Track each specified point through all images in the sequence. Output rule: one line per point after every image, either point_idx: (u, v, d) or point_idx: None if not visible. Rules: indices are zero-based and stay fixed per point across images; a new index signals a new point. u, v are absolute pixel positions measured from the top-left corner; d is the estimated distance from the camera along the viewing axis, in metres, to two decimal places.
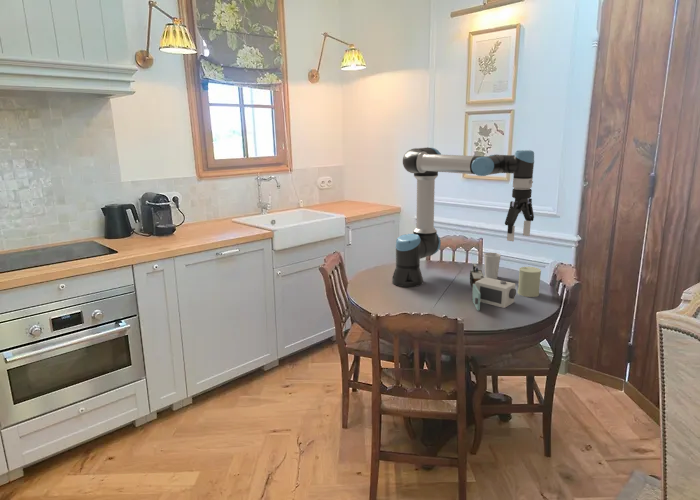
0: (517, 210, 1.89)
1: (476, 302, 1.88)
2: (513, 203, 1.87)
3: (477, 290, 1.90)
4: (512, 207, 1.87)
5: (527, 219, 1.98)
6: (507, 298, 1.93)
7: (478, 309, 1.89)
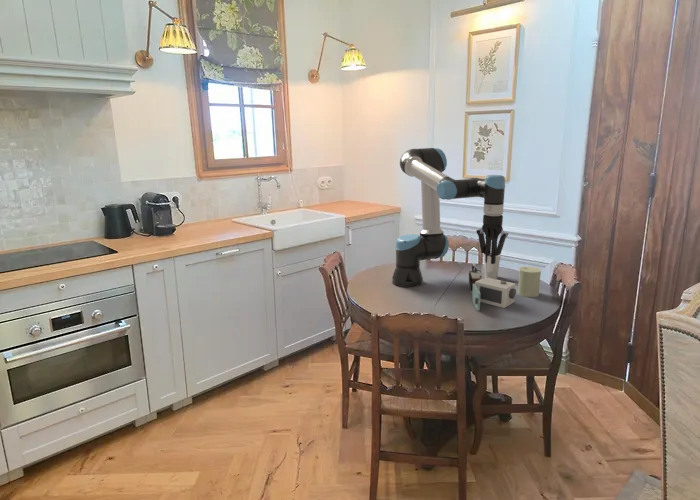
0: None
1: (476, 302, 1.88)
2: None
3: (477, 290, 1.90)
4: None
5: None
6: (507, 298, 1.93)
7: (478, 309, 1.89)
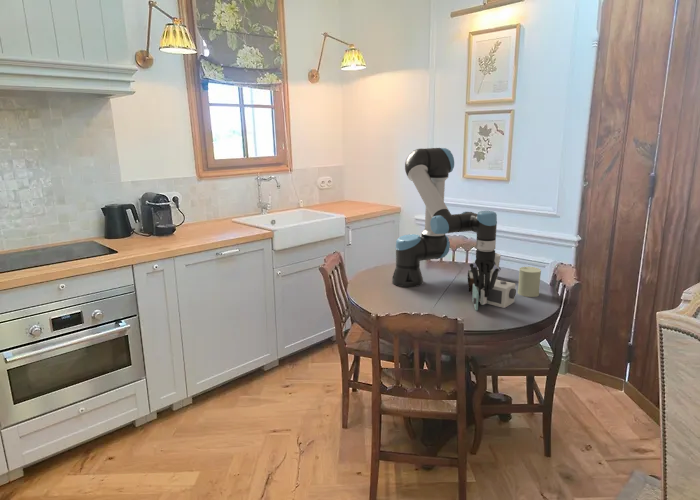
0: None
1: (474, 302, 1.88)
2: None
3: (476, 290, 1.90)
4: None
5: None
6: (507, 298, 1.93)
7: (476, 309, 1.89)
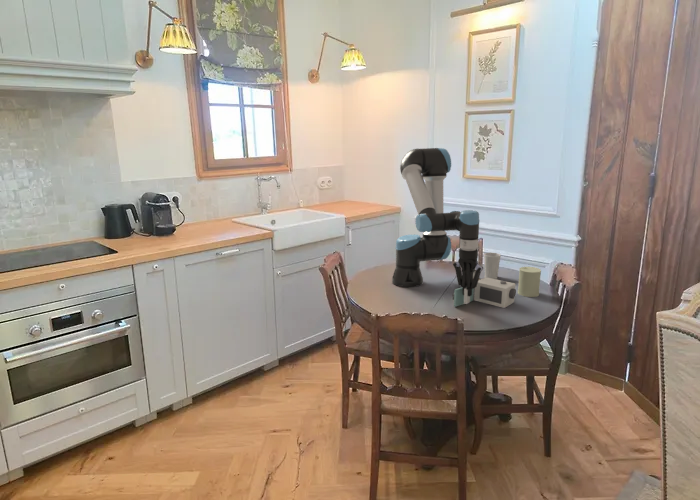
0: None
1: (453, 298, 1.94)
2: None
3: None
4: None
5: None
6: (507, 298, 1.93)
7: (454, 305, 1.93)
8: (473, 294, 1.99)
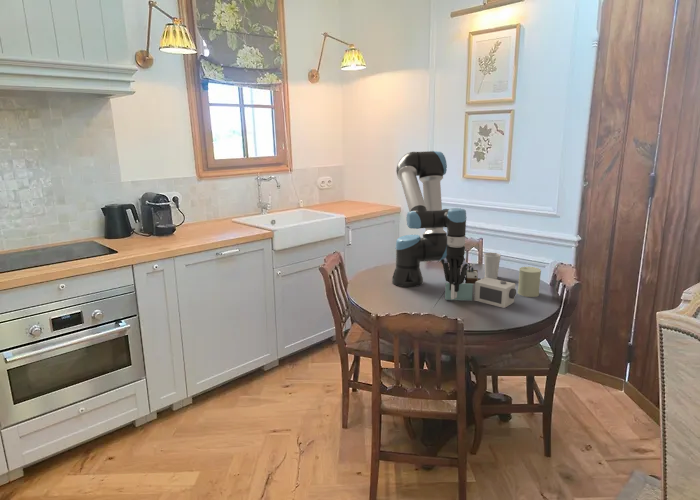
0: None
1: None
2: None
3: None
4: None
5: None
6: (507, 298, 1.93)
7: (445, 298, 2.02)
8: (472, 294, 1.99)
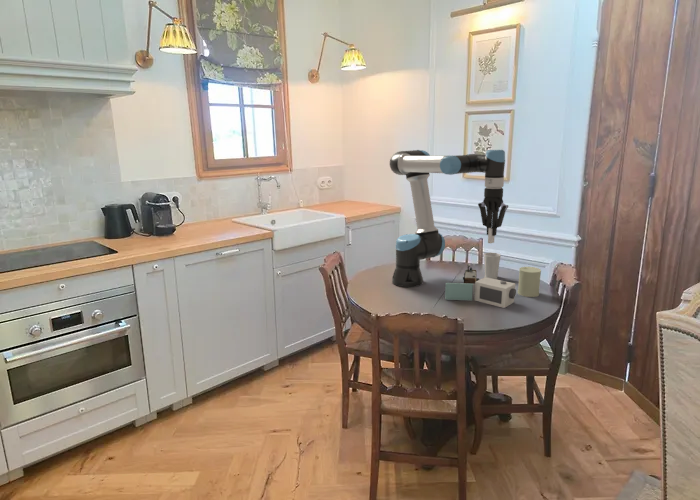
0: None
1: None
2: None
3: (454, 283, 2.00)
4: None
5: None
6: (507, 298, 1.93)
7: (445, 298, 2.02)
8: (472, 294, 1.99)
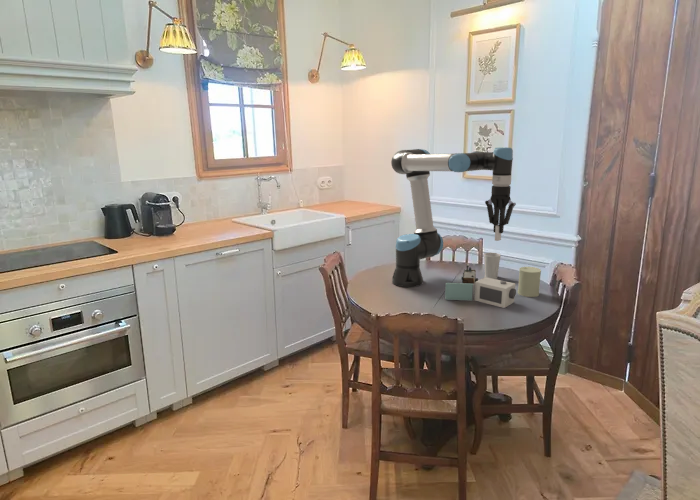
0: None
1: None
2: None
3: (454, 283, 2.00)
4: None
5: None
6: (507, 298, 1.93)
7: (445, 298, 2.02)
8: (472, 294, 1.99)
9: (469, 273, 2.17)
